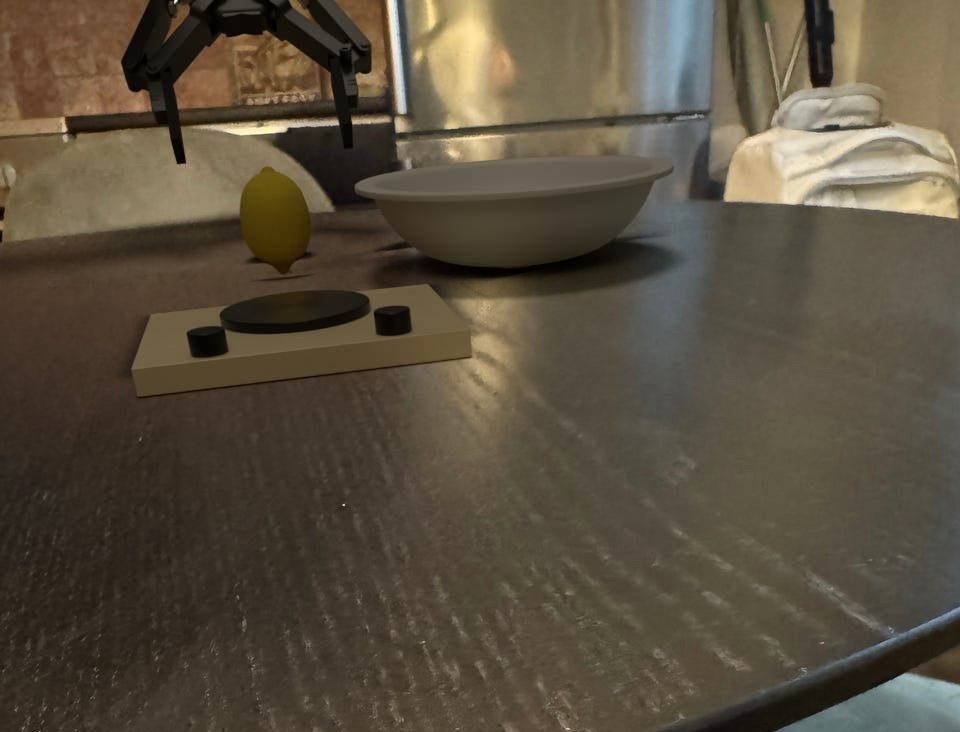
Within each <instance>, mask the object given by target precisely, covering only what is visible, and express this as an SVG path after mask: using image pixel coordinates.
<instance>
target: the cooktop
mask: <svg viewBox="0 0 960 732" xmlns="http://www.w3.org/2000/svg"><path fill="white" fill-rule="evenodd" d="M149 315H150V316H149V318H148V321H147V324H146V326H145V330H144V332H143V335H142V338H141V341H140V344H139V346H138V349H137V352H136V354H135V358H134V360H133V362H132V365H131V368H130V371H131V375H132V379H133V384H134V387H135V391H136V395H137V397H138V398H142V397H143V398H145V397H150V396H151V397H152V396H158V395H160V396H161V395H168V394H176V393H184V392H192V391H200V390H209V389H215V388H216V389H217V388H224V387H225V388H226V387H233V386H241V385H250V384H258V383H267V382H275V381H282V380H284V381H285V380H291V379H299V378H307V377H315V376H316V377H317V376H323V375H332V374H341V373H349V372H357V371H366V370H373V369H381V368H382V369H383V368H389V367H398V366H407V365H415V364H422V363H431V362H439V361H448V360H455V359H464V358H471V357H472V356H473V351H472V349H473V348H472V335H471V329H470V328H469V327H468V326H467V325H466V323H465V322H464V321H463V320H462V319H461V318H460V317H459V316H458V315H457V313H455V311H453V310H452V308H451V307H450V306H449V305H448V304H447V303H446V301H444V300H443V298H441V296H439V294H438V293H437V292H436V291H435V290H434V289H433V288H432V287H431V285H429V284H428V283H424V284H414V285H404V286H396V287H395V286H394V287H386V288H377V289H367V290H360V291H359V290H358V291H351V290H342V289H315V290H314V289H312V290H311V289H310V290H298V291H289V292H281V293H274V294H268V295H263V296H257V297H253V298H249V299H245V300H242V301H239V302H236V303H233V304H231V305H222V306H212V307H204V308H203V307H202V308H194V309H186V310H176V311H167V312H159V313H150V314H149Z"/></svg>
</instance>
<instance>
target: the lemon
mask: <svg viewBox="0 0 960 732" xmlns="http://www.w3.org/2000/svg"><path fill="white" fill-rule="evenodd" d="M308 207H309V206H308V203H307V201H306V199H305V196H304V194H303V191H302V190H301V188H300V186H298V184H297V183H296V182H295V181H294V180H293V179H292V178H291V177H288V175H286V174H284V173H282V172H279V171H276V170H275V169H274V168H273V167H272V166H268V165H267V166H264V167H262V168H261V169H260V172H259V173H257V174H255V175H254V176H252V177H251V178H250V179H249V180H248V182H247V183H246V184H245V186H244V187H243V189H242V191H241V195H240V201H239V221H240V227H241V232H242V235H243V239H244V241H245V244H246V245H247V247H248V249H249V251H250V252H251V253H252V254H253V255H254V257H255V258H257V259H258V260H259V261H261V262H264V263H265V264H266V265H269V266H271V267H273V268H274V269H275V270H276V271H277V272H278V273H279V274H286V273H288V272H289V270H291V267H292V266H293V264H295V263H296V262H297V261H299V260H300V258H302V257H303V256H304V254H305V253H306V252H307V249H308V248H309V245H310V241H311V235H312V224H311V223H312V222H311V216H310V211H309V208H308Z"/></svg>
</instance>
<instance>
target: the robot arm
mask: <svg viewBox="0 0 960 732" xmlns="http://www.w3.org/2000/svg"><path fill="white" fill-rule="evenodd" d="M296 1H297V3H298V4H299V5H301V10H304V11H306V10H307V11H308V12H309V14H310V17H312V19H313V20H314V21H312V20H311V19H309V18H308V17H307V16H305V15H304V14H303V13H301V12H300V11H299V10H297V9H296V8H294V6H293V5H292V3H291V1H290V0H148V3H147V5H146V7H145V9H144V11H143V13H142V16H141V18H140V20H139V21H138V24H137V26H136V28H135V30H134V33H133V35H132V36H131V39H130V41H129V43H128V45H127V47H126V49H125V52H124V54H123V55H122V58H121V60H120V64H121V67H122V72H123V75H124V78H125V82H126V85H127V89H128V90H129V91H130V92H131V93H140V92H141V91H146V92H147V93H148V96H149V102H150V108H151V111H152V115H153V119H154V121H155V123H156V124H157V125H158V126H163V125H167V126H168V132H169V138H170V139H169V140H170V142H171V146H172V151H173V154H174V158H175V162H176V165H187V159H186V152H185V144H184V139H183V133H182V126H181V125H182V124H181V119H180V112H179V107H178V99H177V95H176V92H175V86H174V85H175V84H176V82H177V81H178V80H179V79H180V78H181V76H183V74H184V73H185V71H186V70H187V69H188V68H189V67H190V66H191V64H192V63H193V62H194V61H195V59H196V58H198V56H199V55H200V53H202V51H203V50H204V49H205V47H208V48H210V47H212V46H213V44H214V43H215V42H216V41H217V40H218V38H219V37H220V36H221V35H225V38H235V37H239V36H243V35H249V36H263V35H264V32H266V31H267V33H269V34H271V35H272V36H273V37H274V38H276V39H277V40H279V41H280V42H281V43H284V42H285V41H286V42H288V44H290V45H291V46H293V47H294V48H296V49H297V50H298V51H300V52H301V53H302V54H303V55H305V56H307V57H308V58H309V59H311V60H312V61H313V62H315V63H316V64H317V65H319V66H320V67H322V68H323V69H324V70H325V71H326V72H329V73H330V87H331V91H332V92H331V93H332V96H333V102H334V106H335V107H334V108H335V111H336V116H337V121H338V126H339V132H340V135H341V141H342V146H343V149H344V150H349V149H354V135H353V134H354V132H353V129H354V128H353V120H352V115H351V109H358V107H359V104H360V102H359V101H360V100H359V99H360V98H359V94H360V92H359V86H358V81H357V75H358V74H362V75H368V74H371V73H372V70H373V65H372V64H373V46H372V42H371V40H370V39H368V37H367V36H366V35H365V34H364V33H363V32H362V31H361V30H360V28H359V26H357V25H356V23H354V21H353V20H352V19H351V18H350V17H349V16H348V14H347V13H346V12H345V11H344V10H343V8H341V7H340V5H339V4H338V2H336V1H335V0H296ZM187 5H188V7H189V11H188V14H187V15H186V17H185V18H184V19H183V20H182V21H181V23H180V24H179V25H178V26H177V27H176V29H175V30H174V31H173V32H172V33H171V34H170V35H169V36H168V34H169V32H170V30H171V27H172V23H173V19H174V20H175V19H177V18H178V17H179V14H178V13H180V11H181V8H182V7H183V6H187ZM167 37H168V38H167Z"/></svg>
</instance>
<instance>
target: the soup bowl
mask: <svg viewBox="0 0 960 732" xmlns="http://www.w3.org/2000/svg"><path fill="white" fill-rule="evenodd" d="M674 169H675V167H674V163H673V162H671V161H669V160H666V159H662V158H658V157H657V158H656V157H650V156H639V155H638V156H637V155H616V154H615V155H609V154H606V155H605V154H603V155H602V154H601V155H600V154H597V155H596V154H593V155H590V154H586V155H583V154H582V155H552V156H551V155H550V156H531V157H530V156H529V157H528V156H527V157H514V158H500V159H499V158H498V159H488V160H486V159H485V160H475V161H466V162H465V161H464V162H457V163H456V162H455V163H446V164H438V165H431V166H424V167H423V166H422V167H416V168H415V167H414V168H410V169H404V170H397V171H392V172H387V173H383V174H378V175H373V176H370V177H367V178H363V179H362V180H360V181H358V182H356V183H355V184H354V192H355V194H356V195H359V196H361V197H363V198H367V199H371V200H374V202H375V205H376V206H377V208H378V211H379V212H380V213H381V215H382V217H383V218H384V220H385V221H386V222H387V224H388V225H389V226H390V227H391V229H392V230H393V231H394V232H395V233H396V234H397V235H398V237H400V238H401V239H402V240H403V241H404V242H406V244H408V245H410V246H411V247H412V248H414V249H415V250H416V251H418V252H420V253H421V254H423V255H425V256H427V257H430V258H432V259H434V260H438V261H441V262H444V263H448V264H453V265H458V266H466V267H476V268H503V269H516V268H517V269H518V268H526V267H532V266H538V265H545V264H551V263H557V262H562V261H566V260H570V259H574V258H577V257H580V256H583V255H587V254H589V253H591V252H593V251H595V250H598V249H600V248H601V247H603V246H605V245H607V244H609V243H610V242H611V241H613V240H614V239H615V238H616V237H617V236H619V235H620V234H621V233H622V232H623V231H624V230H625V229H626V228H627V227H628V226H629V225H630V224H631V223H632V222H633V221H634V219H635V218H636V217H637V215H638V214H639V212H640V211H641V209H642V208H643V206H644V205H645V203H646V201H647V199H648V197H649V195H650V193H651V191H652V188H653V186H654V183H655V181H657V180H660V179H664V178H666V177H668V176H669V175H671V174H673V173H674Z"/></svg>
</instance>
